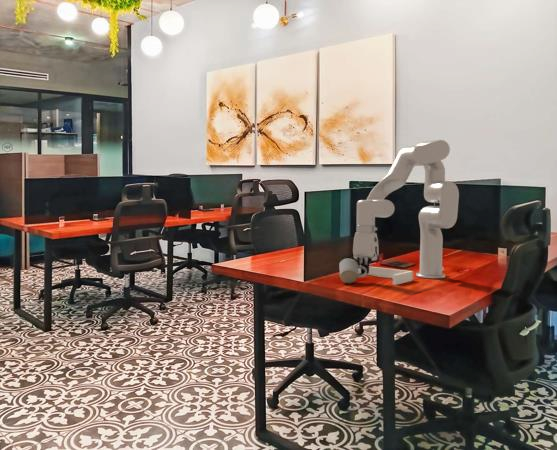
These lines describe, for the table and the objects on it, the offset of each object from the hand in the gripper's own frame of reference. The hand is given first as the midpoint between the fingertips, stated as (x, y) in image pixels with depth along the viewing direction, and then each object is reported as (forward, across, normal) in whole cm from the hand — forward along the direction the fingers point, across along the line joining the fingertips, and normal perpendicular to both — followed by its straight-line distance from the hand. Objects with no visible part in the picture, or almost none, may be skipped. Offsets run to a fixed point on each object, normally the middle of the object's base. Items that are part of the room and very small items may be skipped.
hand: (364, 273), depth 212 cm
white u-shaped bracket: (+4, 0, -8) cm, 8 cm away
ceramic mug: (+4, +2, +6) cm, 7 cm away
